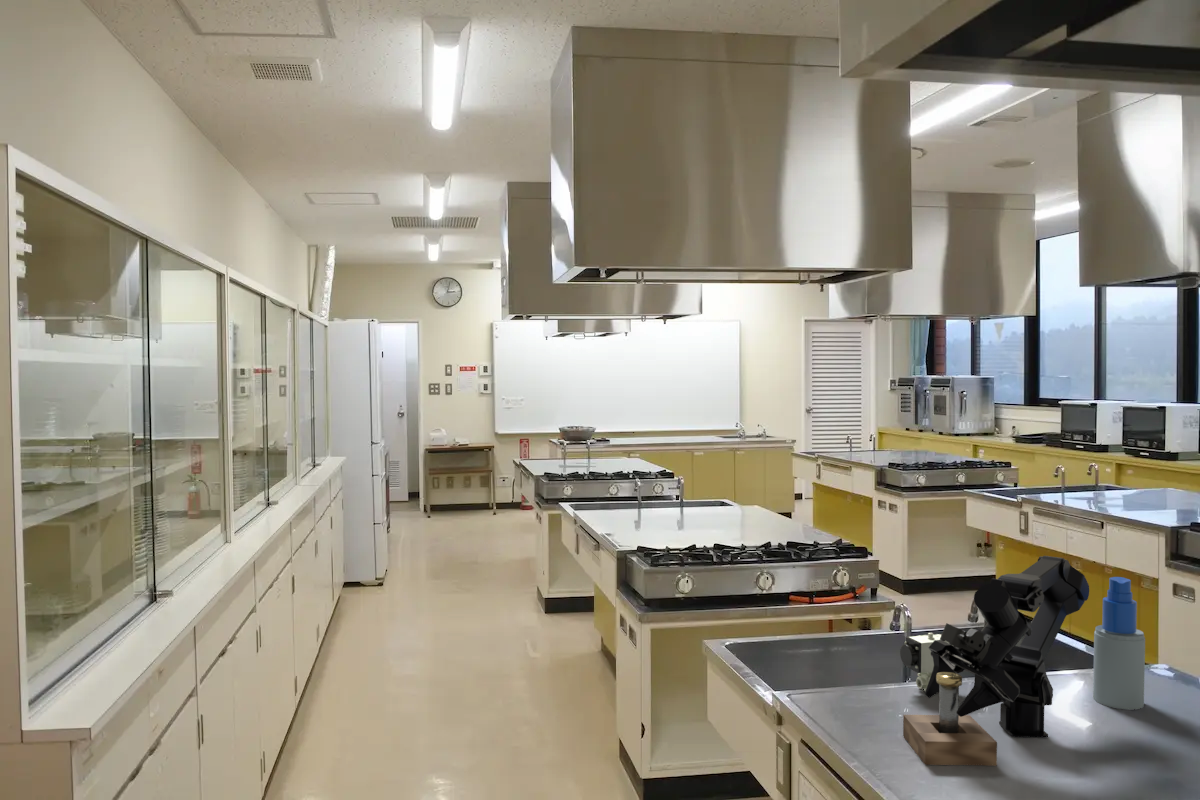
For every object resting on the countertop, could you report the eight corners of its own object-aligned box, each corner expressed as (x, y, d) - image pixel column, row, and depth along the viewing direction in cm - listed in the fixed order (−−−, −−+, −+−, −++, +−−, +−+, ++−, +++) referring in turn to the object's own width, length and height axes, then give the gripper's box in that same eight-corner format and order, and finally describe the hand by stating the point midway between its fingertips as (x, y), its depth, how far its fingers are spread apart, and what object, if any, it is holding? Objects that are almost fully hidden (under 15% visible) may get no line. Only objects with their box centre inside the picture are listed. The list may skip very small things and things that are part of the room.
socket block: (969, 737, 164) (969, 715, 164) (996, 765, 152) (996, 742, 152) (903, 736, 165) (903, 714, 165) (925, 764, 153) (925, 741, 153)
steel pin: (956, 745, 161) (956, 672, 160) (964, 755, 156) (965, 679, 156) (932, 745, 161) (933, 671, 160) (940, 755, 156) (941, 679, 156)
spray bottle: (1094, 690, 188) (1096, 572, 188) (1144, 699, 184) (1146, 577, 183) (1091, 703, 181) (1093, 580, 180) (1143, 713, 176) (1145, 586, 175)
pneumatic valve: (961, 691, 188) (961, 634, 188) (912, 696, 185) (912, 638, 185) (944, 682, 193) (945, 627, 193) (896, 687, 190) (897, 631, 190)
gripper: (938, 596, 168) (884, 659, 166) (1005, 622, 150) (946, 694, 147) (974, 635, 170) (922, 697, 168) (1045, 666, 152) (987, 737, 149)
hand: (942, 705), depth 158 cm, fingers open, 9 cm apart
